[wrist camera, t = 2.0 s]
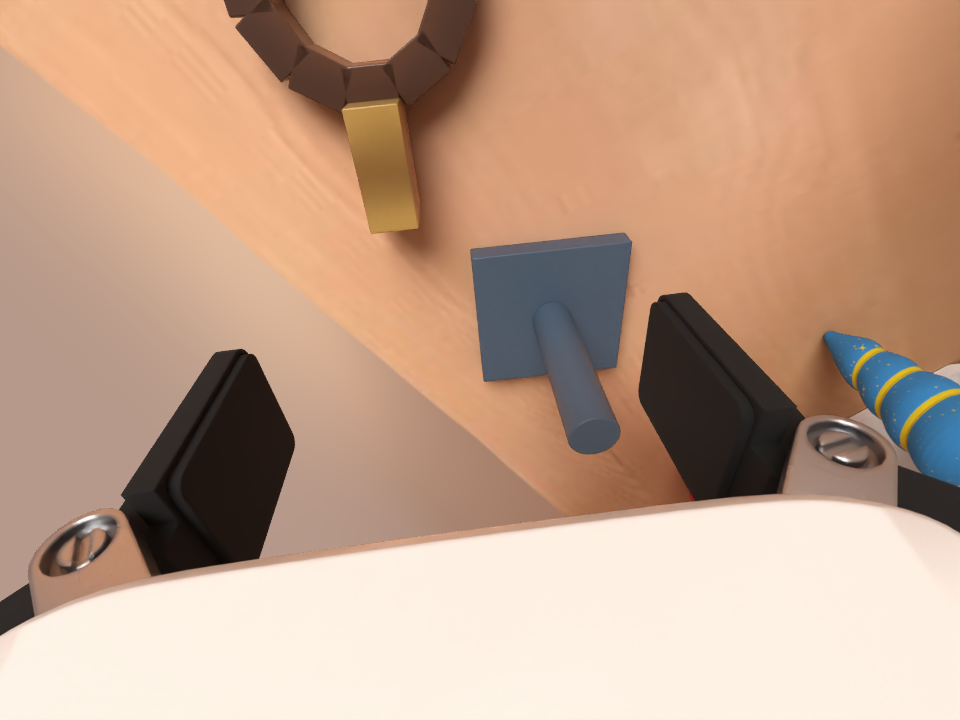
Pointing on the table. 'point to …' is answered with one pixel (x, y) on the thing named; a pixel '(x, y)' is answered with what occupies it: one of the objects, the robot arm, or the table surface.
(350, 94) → the walnut ring
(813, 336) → the table surface
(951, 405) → the ornament
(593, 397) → the peg rack
